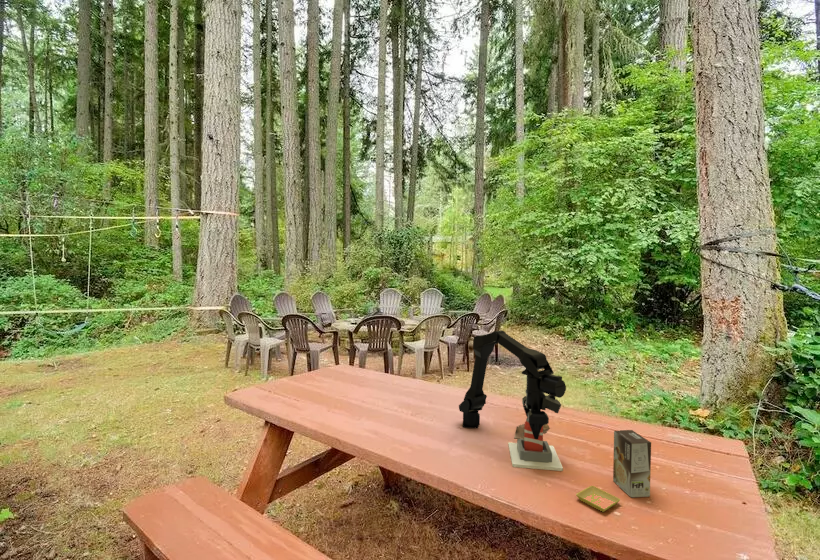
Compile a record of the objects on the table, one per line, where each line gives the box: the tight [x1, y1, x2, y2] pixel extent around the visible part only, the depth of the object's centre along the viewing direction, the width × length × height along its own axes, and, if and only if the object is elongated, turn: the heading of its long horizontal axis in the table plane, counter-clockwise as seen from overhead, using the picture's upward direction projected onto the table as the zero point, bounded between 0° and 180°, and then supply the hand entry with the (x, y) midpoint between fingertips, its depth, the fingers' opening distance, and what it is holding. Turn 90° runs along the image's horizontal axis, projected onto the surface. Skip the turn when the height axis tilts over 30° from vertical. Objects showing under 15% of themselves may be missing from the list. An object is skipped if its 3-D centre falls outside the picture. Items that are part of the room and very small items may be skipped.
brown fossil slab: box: [513, 423, 551, 440], centre depth 161 cm, size 26×11×1 cm, turn 134°
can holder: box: [507, 439, 564, 472], centre depth 137 cm, size 16×16×4 cm
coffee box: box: [612, 429, 652, 498], centre depth 118 cm, size 9×6×16 cm
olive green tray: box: [575, 485, 621, 513], centre depth 112 cm, size 9×9×2 cm
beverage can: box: [524, 417, 544, 452], centre depth 137 cm, size 6×6×12 cm
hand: (534, 433), depth 137 cm, fingers open, 9 cm apart
